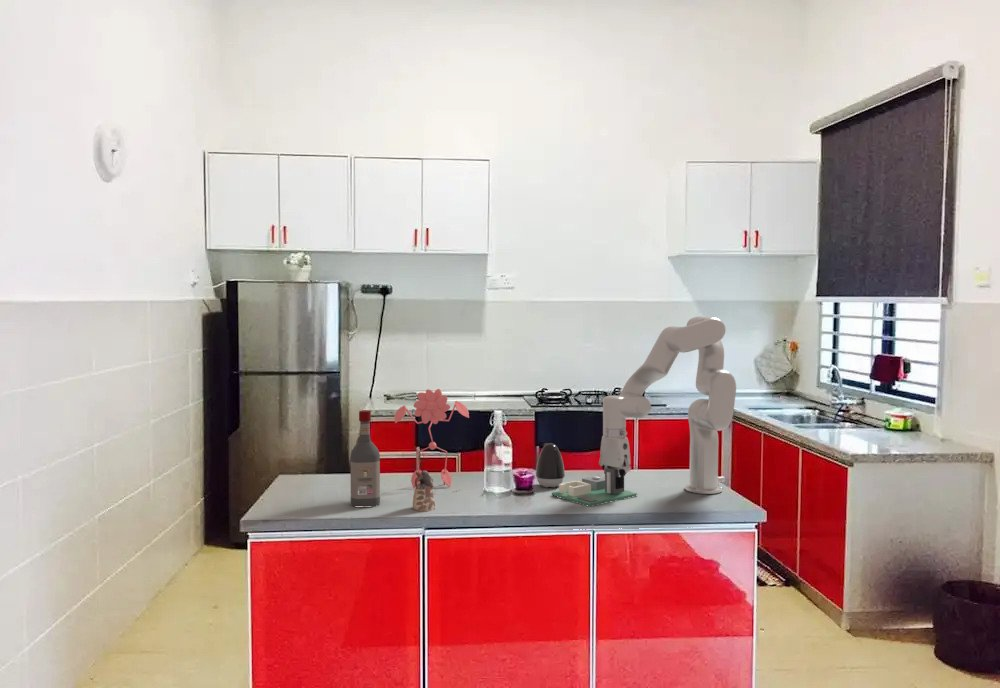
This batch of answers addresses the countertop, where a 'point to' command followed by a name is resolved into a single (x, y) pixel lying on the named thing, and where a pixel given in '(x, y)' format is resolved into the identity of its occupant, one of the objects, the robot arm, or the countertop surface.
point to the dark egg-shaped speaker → (550, 466)
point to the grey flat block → (595, 482)
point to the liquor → (365, 467)
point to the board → (595, 497)
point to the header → (575, 488)
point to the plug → (611, 481)
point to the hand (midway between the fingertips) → (614, 486)
